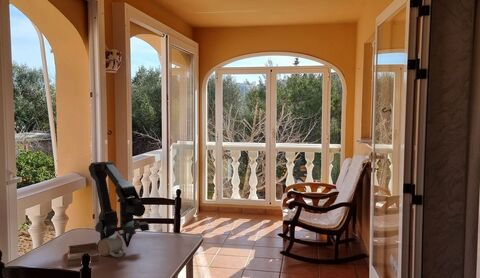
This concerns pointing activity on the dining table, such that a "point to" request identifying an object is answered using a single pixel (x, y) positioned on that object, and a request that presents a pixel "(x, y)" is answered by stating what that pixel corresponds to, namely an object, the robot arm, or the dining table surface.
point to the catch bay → (81, 248)
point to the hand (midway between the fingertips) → (127, 247)
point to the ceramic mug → (111, 246)
